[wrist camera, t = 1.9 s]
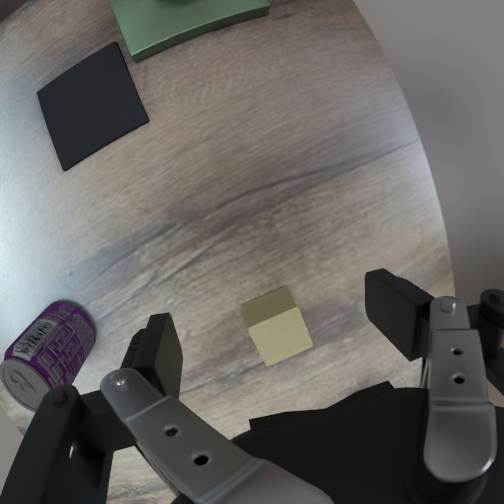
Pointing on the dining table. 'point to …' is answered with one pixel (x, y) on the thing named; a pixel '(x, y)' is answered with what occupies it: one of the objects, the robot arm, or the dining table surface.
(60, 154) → the mat
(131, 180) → the dining table surface
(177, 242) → the dining table surface
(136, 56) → the switch base
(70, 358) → the beverage can
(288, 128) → the dining table surface
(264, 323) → the block
